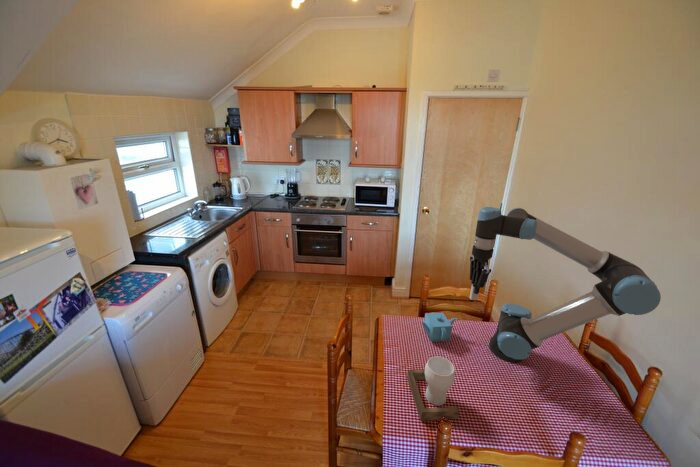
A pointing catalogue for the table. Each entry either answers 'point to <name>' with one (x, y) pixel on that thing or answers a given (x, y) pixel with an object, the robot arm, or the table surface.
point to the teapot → (438, 326)
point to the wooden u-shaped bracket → (423, 412)
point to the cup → (438, 379)
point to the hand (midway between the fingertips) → (473, 298)
